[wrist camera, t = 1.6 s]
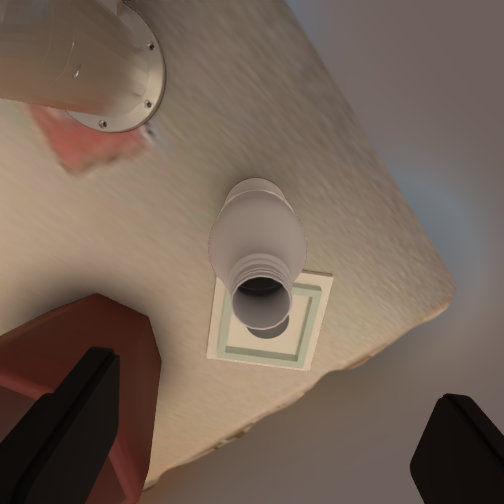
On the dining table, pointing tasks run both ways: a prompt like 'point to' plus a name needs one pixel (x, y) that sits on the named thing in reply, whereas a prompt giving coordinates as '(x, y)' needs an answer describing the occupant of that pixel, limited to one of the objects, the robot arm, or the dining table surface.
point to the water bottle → (258, 252)
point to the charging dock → (274, 339)
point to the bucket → (63, 361)
